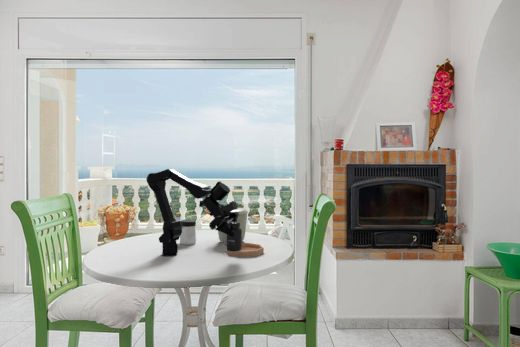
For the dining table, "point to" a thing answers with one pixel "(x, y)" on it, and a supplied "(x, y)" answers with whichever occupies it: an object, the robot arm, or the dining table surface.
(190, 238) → the jar
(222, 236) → the canister
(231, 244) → the supplement bottle
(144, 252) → the dining table surface
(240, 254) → the terracotta octagonal tray
